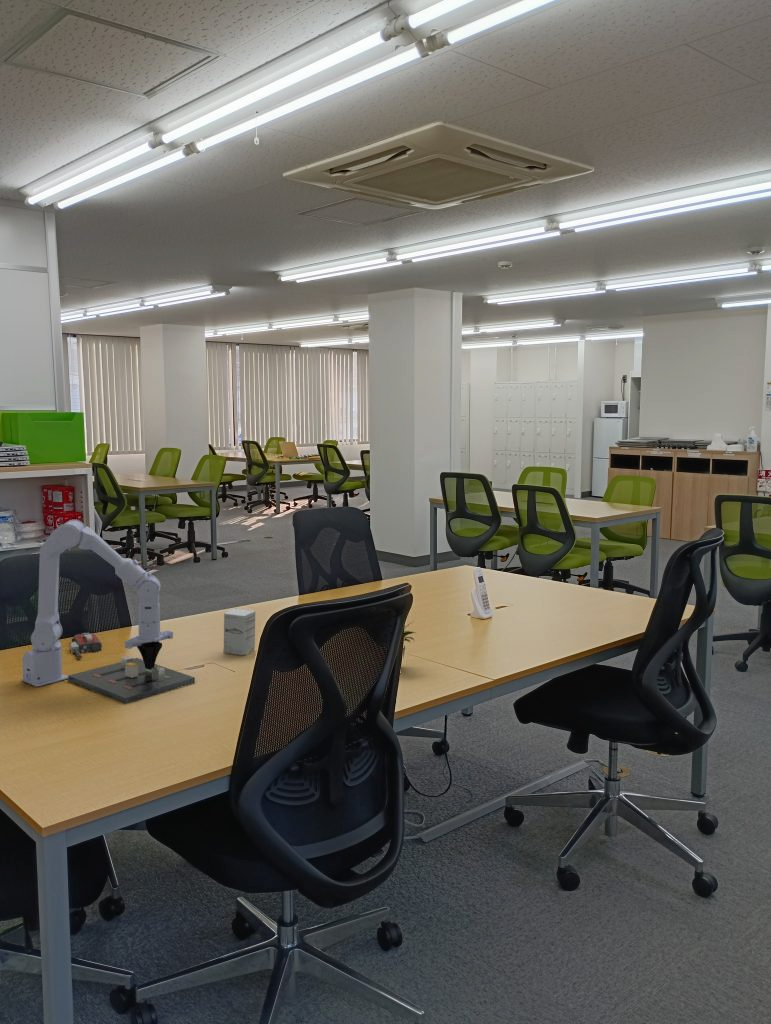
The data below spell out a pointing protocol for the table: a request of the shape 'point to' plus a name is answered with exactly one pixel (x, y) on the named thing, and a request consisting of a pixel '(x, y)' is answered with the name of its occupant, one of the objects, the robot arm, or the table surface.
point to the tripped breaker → (131, 670)
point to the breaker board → (130, 680)
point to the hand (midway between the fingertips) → (149, 668)
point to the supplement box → (239, 631)
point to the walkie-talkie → (85, 644)
